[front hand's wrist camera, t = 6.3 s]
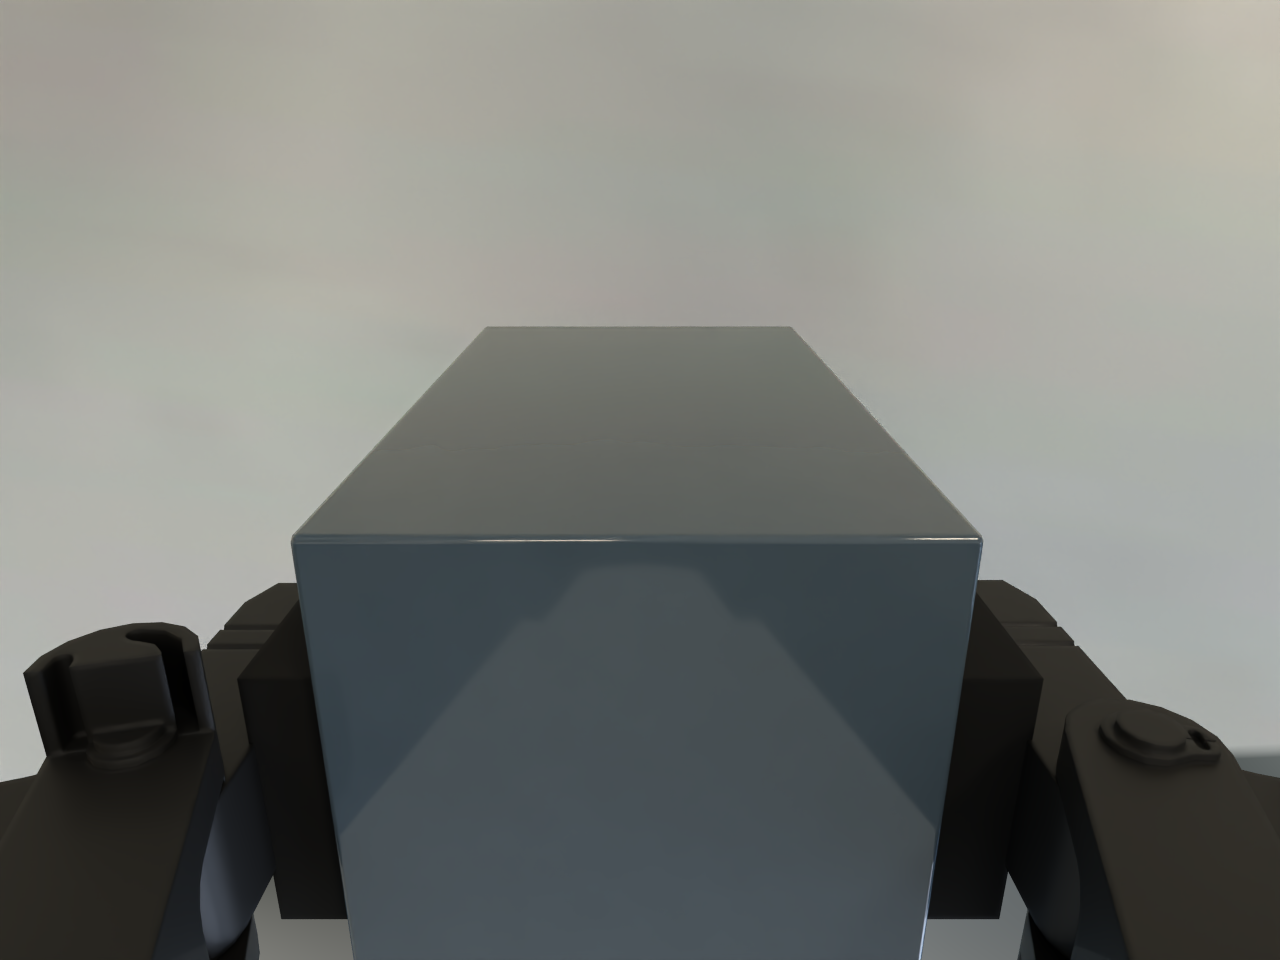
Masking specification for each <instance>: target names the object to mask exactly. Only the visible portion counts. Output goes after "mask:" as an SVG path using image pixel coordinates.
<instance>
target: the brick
mask: <svg viewBox="0 0 1280 960" xmlns="http://www.w3.org/2000/svg"><path fill="white" fill-rule="evenodd" d="M291 547H292V554H293V561H294V567H295V574H296V580H297V587H298V594H299V600H300V607H301V613H302V620H303V627H304V633H305V640H306V647H307V653H308V660H309V666H310V673H311V680H312V686H313V693H314V699H315V706H316V713H317V719H318V726H319V732H320V739H321V746H322V752H323V759H324V765H325V772H326V779H327V785H328V792H329V798H330V805H331V812H332V818H333V825H334V832H335V838H336V845H337V851H338V858H339V865H340V871H341V878H342V884H343V891H344V898H345V904H346V911H347V917H348V924H349V931H350V937H351V944H352V950H353V957H354V960H921V957H922V950H923V944H924V937H925V930H926V924H927V917H928V910H929V903H930V897H931V890H932V883H933V877H934V870H935V863H936V856H937V850H938V843H939V836H940V829H941V823H942V816H943V809H944V803H945V796H946V789H947V782H948V776H949V769H950V762H951V755H952V749H953V742H954V735H955V729H956V722H957V715H958V708H959V702H960V695H961V688H962V682H963V675H964V668H965V661H966V655H967V648H968V641H969V634H970V628H971V621H972V614H973V608H974V601H975V594H976V587H977V581H978V574H979V567H980V561H981V554H982V547H983V539H982V535H981V534H980V533H979V532H978V531H977V530H976V529H975V528H974V527H973V526H972V524H971V523H970V522H969V521H968V520H967V519H966V518H965V517H964V516H963V515H962V514H961V512H960V511H959V510H958V509H957V508H956V507H955V506H954V505H953V504H952V503H951V501H950V500H949V499H948V498H947V497H946V496H945V495H944V494H943V493H942V492H941V490H940V489H939V488H938V487H937V486H936V485H935V484H934V483H933V482H932V481H931V479H930V478H929V477H928V476H927V475H926V474H925V473H924V472H923V471H922V470H921V469H920V467H919V466H918V465H917V464H916V463H915V462H914V461H913V460H912V459H911V458H910V456H909V455H908V454H907V453H906V452H905V451H904V450H903V449H902V448H901V447H900V445H899V444H898V443H897V442H896V441H895V440H894V439H893V438H892V437H891V436H890V435H889V433H888V432H887V431H886V430H885V429H884V428H883V427H882V426H881V425H880V424H879V422H878V421H877V420H876V419H875V418H874V417H873V416H872V415H871V414H870V413H869V411H868V410H867V409H866V408H865V407H864V406H863V405H862V404H861V403H860V402H859V400H858V399H857V398H856V397H855V396H854V395H853V394H852V393H851V392H850V391H849V390H848V388H847V387H846V386H845V385H844V384H843V383H842V382H841V381H840V380H839V379H838V377H837V376H836V375H835V374H834V373H833V372H832V371H831V370H830V369H829V368H828V366H827V365H826V364H825V363H824V362H823V361H822V360H821V359H820V358H819V357H818V356H817V354H816V353H815V352H814V351H813V350H812V349H811V348H810V347H809V346H808V345H807V343H806V342H805V341H804V340H803V339H802V338H801V337H800V336H799V335H798V334H797V332H796V331H795V330H794V329H793V328H792V327H486V328H484V329H483V331H482V332H481V333H480V334H479V335H478V336H477V337H476V338H475V339H474V340H473V341H472V342H471V343H470V345H469V346H468V347H467V348H466V349H465V350H464V351H463V352H462V353H461V354H460V355H459V356H458V358H457V359H456V360H455V361H454V362H453V363H452V364H451V365H450V366H449V367H448V368H447V369H446V370H445V372H444V373H443V374H442V375H441V376H440V377H439V378H438V379H437V380H436V381H435V382H434V383H433V384H432V386H431V387H430V388H429V389H428V390H427V391H426V392H425V393H424V394H423V395H422V396H421V397H420V398H419V400H418V401H417V402H416V403H415V404H414V405H413V406H412V407H411V408H410V409H409V410H408V411H407V412H406V414H405V415H404V416H403V417H402V418H401V419H400V420H399V421H398V422H397V423H396V424H395V425H394V427H393V428H392V429H391V430H390V431H389V432H388V433H387V434H386V435H385V436H384V437H383V438H382V439H381V441H380V442H379V443H378V444H377V445H376V446H375V447H374V448H373V449H372V450H371V451H370V452H369V453H368V455H367V456H366V457H365V458H364V459H363V460H362V461H361V462H360V463H359V464H358V465H357V466H356V467H355V469H354V470H353V471H352V472H351V473H350V474H349V475H348V476H347V477H346V478H345V479H344V480H343V482H342V483H341V484H340V485H339V486H338V487H337V488H336V489H335V490H334V491H333V492H332V493H331V494H330V496H329V497H328V498H327V499H326V500H325V501H324V502H323V503H322V504H321V505H320V506H319V507H318V508H317V510H316V511H315V512H314V513H313V514H312V515H311V516H310V517H309V518H308V519H307V520H306V521H305V522H304V524H303V525H302V526H301V527H300V528H299V529H298V530H297V531H296V532H295V533H294V534H293V535H292V539H291Z"/></svg>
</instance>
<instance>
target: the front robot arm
mask: <svg viewBox="0 0 1280 960" xmlns="http://www.w3.org/2000/svg"><path fill="white" fill-rule="evenodd" d="M23 675H24V678H25V682H26V685H27V689H28V692H29V696H30V699H31V703H32V706H33V710H34V714H35V717H36V721H37V724H38V728H39V731H40V735H41V738H42V742H43V745H44V749H45V752H46V756H47V757H46V759H45V761H44V762H43V764H42V766H41V768H40V770H39V771H38V773H37V775H33V776H29V777H25V778H20V779H14V780H9V781H4V782H0V960H259V954H260V951H259V944H258V935H257V930H256V924H255V919H254V915H253V913H254V911H255V909H256V907H257V905H258V903H259V901H260V899H261V897H262V895H263V893H264V891H265V889H266V887H267V885H268V883H269V882H270V880H271V878H272V876H274V881H275V887H276V892H277V898H278V903H279V908H280V914H281V919H348V917H347V911H346V904H345V898H344V891H343V884H342V878H341V871H340V865H339V858H338V851H337V845H336V838H335V832H334V825H333V818H332V812H331V805H330V798H329V792H328V785H327V779H326V772H325V765H324V759H323V752H322V746H321V739H320V732H319V726H318V719H317V713H316V706H315V699H314V693H313V686H312V680H311V673H310V666H309V660H308V653H307V647H306V640H305V633H304V627H303V620H302V613H301V607H300V600H299V594H298V587H297V583H278V584H276V585H274V586H273V587H271V588H269V589H267V590H266V591H264V592H262V593H260V594H259V595H257V596H255V597H253V598H252V599H250V600H248V601H247V602H245V603H244V604H243V605H242V606H241V607H240V608H239V610H238V611H237V612H236V613H235V614H234V615H233V616H232V617H231V618H230V620H229V621H228V622H227V623H226V624H225V625H224V630H220V631H219V632H218V633H217V634H216V635H215V636H214V637H213V639H212V640H211V641H210V642H209V643H208V644H207V649H203V650H202V651H201V649H200V644H199V639H198V636H197V635H196V634H194V633H193V632H192V631H190V630H189V629H188V628H186V627H184V626H179V625H174V624H169V623H163V622H156V623H132V624H127V625H122V626H117V627H112V628H107V629H102V630H99V631H96V632H93V633H90V634H87V635H84V636H82V637H79V638H76V639H73V640H70V641H68V642H66V643H64V644H62V645H60V646H59V647H57V648H55V649H53V650H51V651H50V652H48V653H46V654H44V655H42V656H41V657H40V658H38V659H37V660H36V661H35V662H34V663H33V664H32V665H31V666H30V667H29V668H28V669H27V670H26V671H25V672H24V673H23ZM1008 872H1009V874H1010V876H1011V878H1012V880H1013V882H1014V883H1015V885H1016V887H1017V889H1018V891H1019V893H1020V895H1021V897H1022V899H1023V901H1024V903H1025V905H1026V907H1027V914H1026V919H1025V925H1024V930H1023V935H1022V939H1021V945H1020V949H1019V955H1018V960H1280V778H1277V777H1272V776H1266V775H1262V774H1256V773H1252V772H1248V771H1244V770H1241V768H1240V766H1239V764H1238V763H1237V761H1236V759H1235V757H1234V755H1233V754H1232V753H1231V752H1230V751H1229V750H1228V748H1227V747H1226V746H1225V745H1224V744H1223V743H1222V742H1221V740H1220V739H1219V738H1218V737H1217V736H1215V735H1214V734H1212V733H1211V732H1209V731H1208V730H1206V729H1205V728H1203V727H1202V726H1200V725H1199V724H1197V723H1196V722H1194V721H1193V720H1191V719H1188V718H1186V717H1184V716H1181V715H1179V714H1176V713H1174V712H1172V711H1169V710H1167V709H1164V708H1162V707H1158V706H1154V705H1150V704H1146V703H1141V702H1137V701H1133V700H1127V699H1126V698H1125V697H1124V696H1123V695H1122V694H1121V693H1120V692H1119V691H1118V689H1117V688H1116V687H1115V686H1114V685H1113V684H1112V683H1111V682H1110V681H1109V679H1108V678H1107V677H1106V676H1105V675H1104V674H1103V673H1102V672H1101V671H1100V669H1099V668H1098V667H1097V666H1096V665H1095V664H1094V663H1093V662H1092V661H1091V659H1090V658H1089V657H1088V656H1087V655H1086V654H1085V653H1084V652H1083V651H1082V649H1081V648H1080V647H1079V646H1074V641H1073V640H1072V638H1071V637H1070V636H1069V635H1068V634H1067V633H1066V632H1065V631H1064V630H1063V628H1062V627H1057V622H1056V621H1055V620H1054V618H1053V617H1052V616H1051V615H1050V614H1049V613H1048V612H1047V611H1046V610H1045V608H1044V607H1043V606H1042V605H1041V604H1040V603H1039V602H1038V601H1037V600H1036V599H1035V598H1033V597H1031V596H1029V595H1028V594H1026V593H1024V592H1022V591H1021V590H1019V589H1017V588H1015V587H1014V586H1012V585H1010V584H1008V583H1007V582H1005V581H1003V580H978V581H977V587H976V594H975V601H974V608H973V614H972V621H971V628H970V634H969V641H968V648H967V655H966V661H965V668H964V675H963V682H962V688H961V695H960V702H959V708H958V715H957V722H956V729H955V735H954V742H953V749H952V755H951V762H950V769H949V776H948V782H947V789H946V796H945V803H944V809H943V816H942V823H941V829H940V836H939V843H938V850H937V856H936V863H935V870H934V877H933V883H932V890H931V897H930V903H929V910H928V917H927V919H999V917H1000V912H1001V906H1002V901H1003V896H1004V890H1005V885H1006V879H1007V874H1008Z"/></svg>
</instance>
